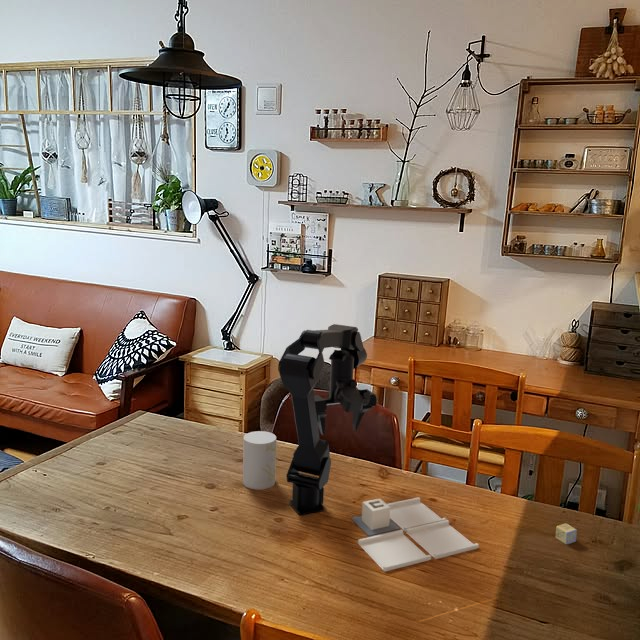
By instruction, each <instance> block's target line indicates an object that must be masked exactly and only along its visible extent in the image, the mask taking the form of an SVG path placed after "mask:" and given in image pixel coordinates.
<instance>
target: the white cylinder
mask: <svg viewBox="0 0 640 640" xmlns="http://www.w3.org/2000/svg"><path fill="white" fill-rule="evenodd" d="M242 438H243V443H242V444H243V445H242V448H243V449H242V451H243V452H242V484H243V486H245V487H246V488H247V489H250V490H251V489H252V490H267V489H270V488H272V487H273V486H274V485H275V484H276V468H277V467H276V465H277V464H276V463H277V462H276V461H277V457H276V456H277V436H276V435H275V434H274V433H272V432H269V431H264V430H263V431H262V430H257V431H256V430H255V431H250V432H248V433H245V434H244V435H243V437H242Z"/></svg>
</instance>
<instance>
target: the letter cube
mask: <svg viewBox="0 0 640 640" xmlns="http://www.w3.org/2000/svg"><path fill="white" fill-rule="evenodd" d="M387 504H388V503H386V502H385V501H384V500H382V499H381V498H380V497H379V498H375V499H370V500H369V499H368V500H365V501H362V505H361V506H362V507H361V516H362V521H363V522H364V523H365V524H366V525H367V526H368V527H369V528H370V529H371V530H373V529H378V528H382V527H387V526H389V520H391V519H390V507H389V506H388V505H387Z"/></svg>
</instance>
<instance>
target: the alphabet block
mask: <svg viewBox="0 0 640 640" xmlns="http://www.w3.org/2000/svg"><path fill="white" fill-rule="evenodd" d="M577 534H578V530H577V529H576V528H575V527H574V526H573V527H572V526H571V525H569V524H568V523H562V524H559V525H557V526H556V529H555V539H557V540H559V541H560V542H561V543H563V544H565V545H566V546H567V545H570V544H572V543H575V542H577Z"/></svg>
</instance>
